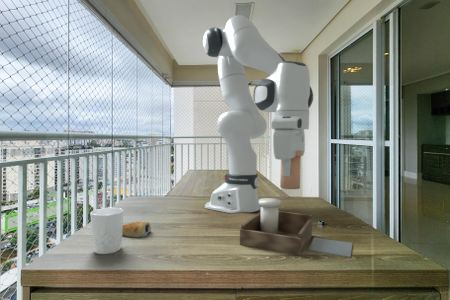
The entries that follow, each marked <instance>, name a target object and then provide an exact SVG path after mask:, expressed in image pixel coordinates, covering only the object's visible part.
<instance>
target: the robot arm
mask: <svg viewBox="0 0 450 300" xmlns="http://www.w3.org/2000/svg"><path fill="white" fill-rule="evenodd" d="M202 46H203V48H204V51H205V54H206V55H207V56H208V57H211V58H217V73H218V81H219V86H220V89H221V94H222V99H223V102H224V103H225V104H226V105H227V106H228V107H229V109H230V110H229V111H225V112H223V113H221V114H220V115H219V116H218V118H217V121H216V128H217V132H218V133H219V135H220V136H221V137H222V138H223V139H224V142H225V145H226V148H227V153H228V173H227V174H225V175H223V180H224V182H223V183H222V184H221V185H220V186H219V187H217V188H216V189H215V190H213V191H212V193H211V195H210V201H208V202H206V203H205V205H204V209H208V210H212V211H218V212H222V213H227V214H231V213H232V214H237V213H254V212H259V209H261V206H260V205H259V197H258V196H259V195H258V186H259V178H258V177H259V176H258V173H257V172H258V171H257V170H258V169H257V168H258V165H257V164H258V163H257V162H258V161H257V160H258V159H257V157H258V156H257V153H256V151H255V150H254V149H253V147H252V143H251V142H252V141H251V140H254V139H257V138H259V137H262V136H264V134H265V133H266V131H267V128H268V124H267V120H266V119H265V117H264V116H263V115H262V113H260V111H262V112H268V113H275V114H274V115H275V116H274V117H273V119H272V120H271V121H270V122H271V123H270V124H271V125H270V126H271V129H272V130H273V133H272V141H273V142H272V146H273V156H274V159H275V160H280V161H281V160H282V167H283V175H284V176H290V175H291V159H292V158H295V157H296V156H295V155H296V151H299V150H301V151H303V156H304V154H305V150H306V149H305V145H306V143H305V142H306V141H305V139H306V137H305V130H309V128H310V108H311V106H312V103H313V101H314V92H313V90H312V87H311V77H310V70H309V67H308V64H306V63H305V62H299V61H292V60H290V61H289V60H285V59H284V57H283V56H282V55H281V54H280V53H279V52H278V51H277V50H275V49H274V48H273V47H272V46H271V45H270V44H269V43H268V42H267V41H266V40H265V38H264V37H263V36H262V34H261V33H260V32H259V30H258V28H257V27H256V26H255V25H254V23H253V22H252V21H251V20H250V19H249V18H247V16H245V15H241V14H237V15H233V16H232V17H230V18H229V19H228V20H227V22H226V24H225V25H224V26H220V27H219V26H218V27H210V28H207V29H206V30H205V32H203V38H202ZM244 66H245V67H248V68H252V69H255V70H258V71H262V72H265V73H266V74H268V75H269V76H267V77H266V78H262V79H261V80H259V81H258V82H257V84H256V85H255V87H254V88H253V96H252V94H251V91H250V87H249V83H248V78H247V74H246V70H245V67H244Z"/></svg>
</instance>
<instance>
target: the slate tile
mask: <svg viewBox="0 0 450 300" xmlns="http://www.w3.org/2000/svg"><path fill="white" fill-rule="evenodd" d="M353 245H354V244H353V242H348V241H341V240H336V239H335V240H334V239H328V238H323V237H322V238H321V237H313V239H312V240H311V242H310V244H309V246H308V248H307V251H309V252H314V253H315V252H316V253H320V254H327V255H332V256H339V257H344V258H350V259H351V256H352V249H353Z"/></svg>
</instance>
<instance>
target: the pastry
mask: <svg viewBox="0 0 450 300" xmlns="http://www.w3.org/2000/svg"><path fill="white" fill-rule="evenodd" d="M151 231H152V227H151V224H150V222H149V221H148V222H147V221H146V222H145V221H144V222H143V221H135V222H130V223H127V224H123V230H122V236H126V237H128V238H129V237H131V238H144V237H146V236H147V235H148V233H150V232H151Z"/></svg>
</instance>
